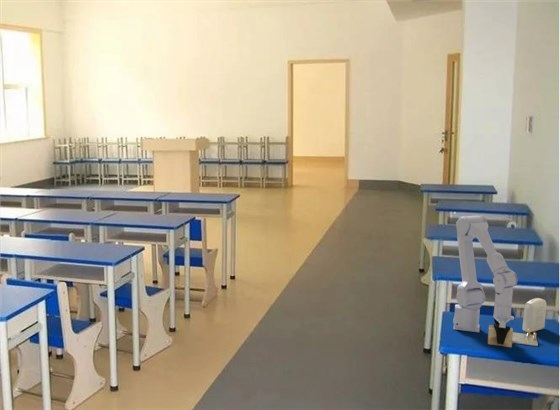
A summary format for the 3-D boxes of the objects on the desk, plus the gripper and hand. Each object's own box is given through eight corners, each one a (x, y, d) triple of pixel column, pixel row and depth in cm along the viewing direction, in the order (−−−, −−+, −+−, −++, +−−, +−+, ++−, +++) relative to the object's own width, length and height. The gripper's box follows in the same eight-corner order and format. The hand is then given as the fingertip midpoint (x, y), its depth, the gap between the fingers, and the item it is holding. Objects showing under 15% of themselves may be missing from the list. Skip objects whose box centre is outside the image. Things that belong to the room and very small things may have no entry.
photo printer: (536, 325, 234) (539, 295, 232) (545, 328, 230) (549, 298, 228) (520, 330, 228) (523, 299, 226) (530, 333, 224) (533, 302, 222)
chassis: (502, 341, 216) (502, 333, 216) (501, 332, 225) (502, 324, 224) (537, 346, 213) (538, 337, 212) (535, 337, 221) (536, 329, 221)
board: (488, 344, 214) (489, 328, 213) (487, 340, 217) (489, 324, 216) (511, 347, 211) (513, 331, 210) (510, 343, 215) (512, 327, 214)
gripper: (516, 312, 204) (512, 349, 206) (513, 299, 217) (510, 334, 220) (494, 309, 206) (491, 346, 208) (493, 297, 220) (490, 331, 222)
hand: (499, 339), depth 214 cm, fingers open, 7 cm apart
